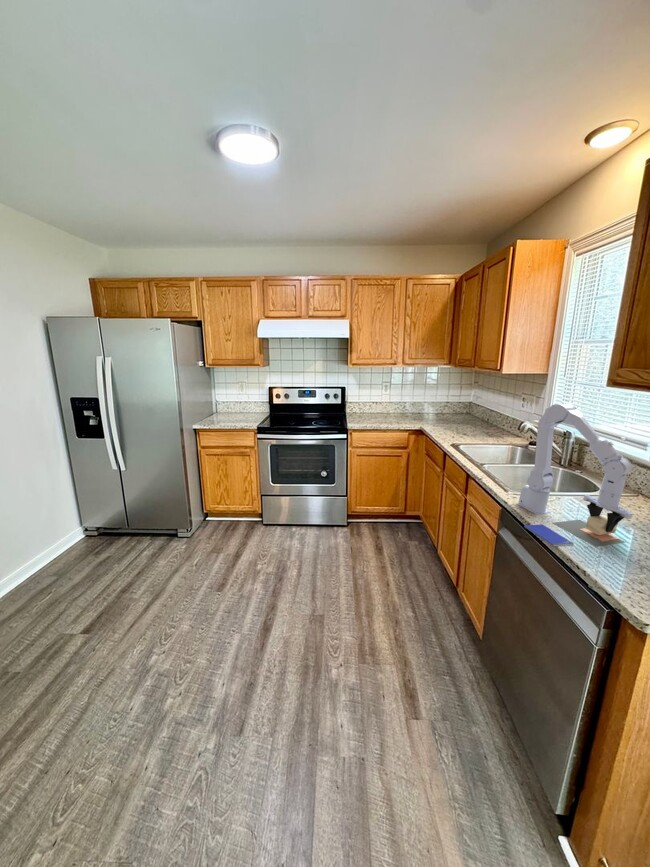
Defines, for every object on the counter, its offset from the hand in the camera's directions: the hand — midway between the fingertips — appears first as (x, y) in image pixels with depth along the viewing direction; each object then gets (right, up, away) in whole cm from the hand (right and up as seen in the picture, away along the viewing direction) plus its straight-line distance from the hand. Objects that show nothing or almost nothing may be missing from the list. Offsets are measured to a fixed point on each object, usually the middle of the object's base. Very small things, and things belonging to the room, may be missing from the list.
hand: (600, 527), depth 117 cm
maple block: (0, -1, 0) cm, 1 cm away
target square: (0, -2, +1) cm, 2 cm away
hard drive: (-20, -3, -2) cm, 21 cm away
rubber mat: (-4, -2, +2) cm, 5 cm away
